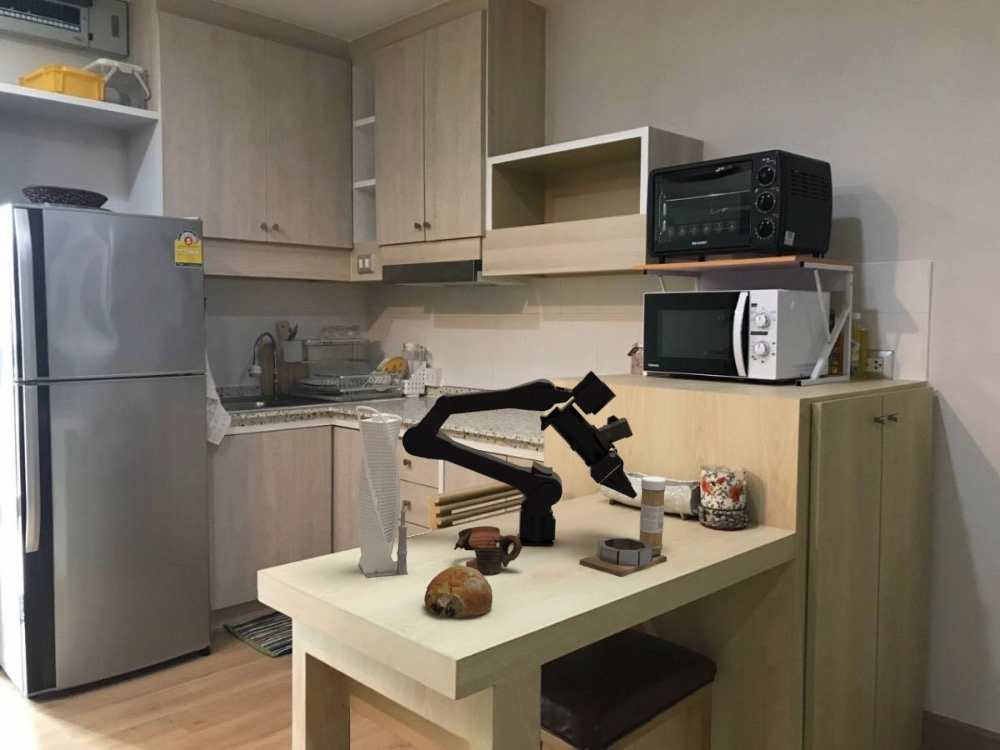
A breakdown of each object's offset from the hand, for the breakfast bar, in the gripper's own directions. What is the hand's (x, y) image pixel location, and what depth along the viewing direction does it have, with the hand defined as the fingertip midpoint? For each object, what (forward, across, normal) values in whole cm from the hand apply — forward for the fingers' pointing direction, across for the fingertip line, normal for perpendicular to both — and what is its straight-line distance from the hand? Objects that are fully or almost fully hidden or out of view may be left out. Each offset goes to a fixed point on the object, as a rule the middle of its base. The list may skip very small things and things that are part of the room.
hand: (632, 491), depth 155 cm
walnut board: (+6, -11, +9) cm, 15 cm away
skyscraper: (-24, -21, +39) cm, 51 cm away
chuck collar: (+6, -10, +8) cm, 14 cm away
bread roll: (-13, -37, +28) cm, 49 cm away
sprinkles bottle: (+10, 0, +5) cm, 12 cm away
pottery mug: (-11, -17, +26) cm, 33 cm away
